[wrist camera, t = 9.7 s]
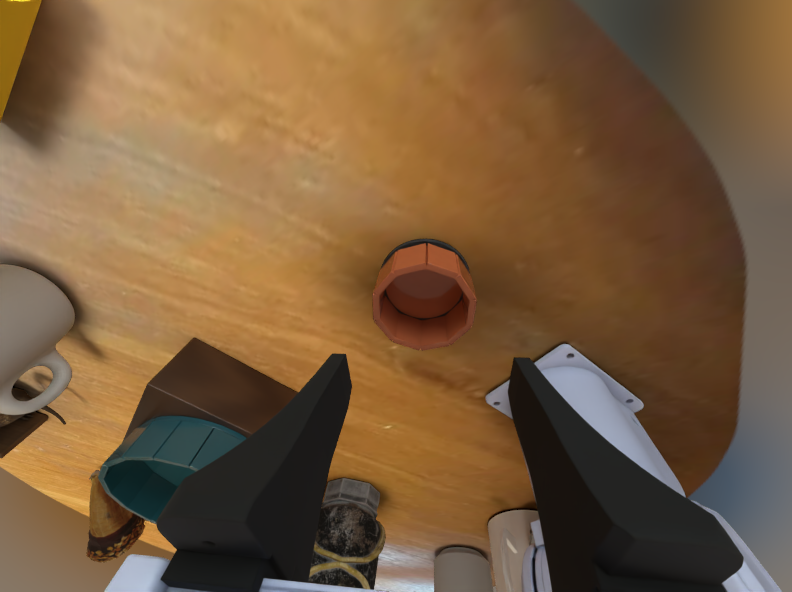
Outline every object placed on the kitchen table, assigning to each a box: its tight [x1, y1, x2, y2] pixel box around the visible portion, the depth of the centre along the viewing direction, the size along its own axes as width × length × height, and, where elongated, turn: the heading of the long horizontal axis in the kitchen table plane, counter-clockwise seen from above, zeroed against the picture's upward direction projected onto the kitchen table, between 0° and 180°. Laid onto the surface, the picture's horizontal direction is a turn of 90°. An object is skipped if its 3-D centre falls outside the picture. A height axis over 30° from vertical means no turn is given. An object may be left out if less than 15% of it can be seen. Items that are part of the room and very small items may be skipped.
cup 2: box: [488, 510, 539, 592], centre depth 32 cm, size 8×12×10 cm
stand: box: [122, 338, 298, 443], centre depth 28 cm, size 13×13×5 cm
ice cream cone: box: [86, 470, 145, 562], centre depth 41 cm, size 6×6×15 cm
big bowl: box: [98, 416, 247, 524], centre depth 24 cm, size 12×12×3 cm
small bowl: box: [372, 243, 477, 351], centre depth 19 cm, size 6×6×3 cm
